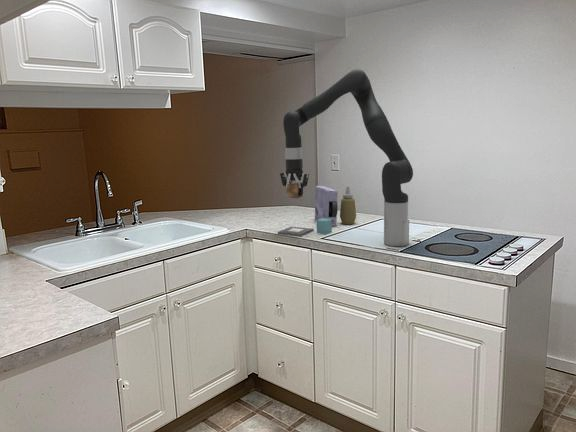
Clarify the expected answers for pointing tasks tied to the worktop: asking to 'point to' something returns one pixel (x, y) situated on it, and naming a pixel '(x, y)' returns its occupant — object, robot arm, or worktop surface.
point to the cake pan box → (326, 204)
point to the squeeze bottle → (348, 208)
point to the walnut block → (293, 191)
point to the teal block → (324, 226)
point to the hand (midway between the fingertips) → (294, 195)
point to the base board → (295, 231)
